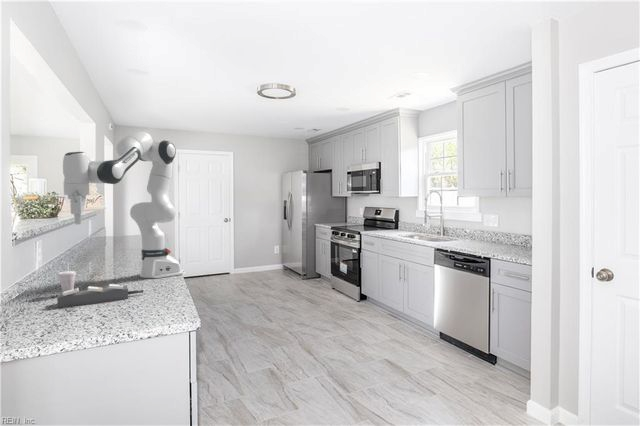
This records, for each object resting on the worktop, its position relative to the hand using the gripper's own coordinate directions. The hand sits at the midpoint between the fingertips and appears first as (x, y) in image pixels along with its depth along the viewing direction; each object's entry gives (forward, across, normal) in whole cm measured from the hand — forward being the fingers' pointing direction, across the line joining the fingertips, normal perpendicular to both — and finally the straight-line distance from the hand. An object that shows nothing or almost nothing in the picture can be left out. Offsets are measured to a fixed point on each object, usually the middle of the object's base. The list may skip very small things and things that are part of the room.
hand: (78, 224), depth 152 cm
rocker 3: (+27, -9, -12) cm, 31 cm away
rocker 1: (+27, -9, +2) cm, 29 cm away
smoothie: (+31, +9, +5) cm, 33 cm away
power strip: (+31, -8, -8) cm, 33 cm away
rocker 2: (+27, -9, -5) cm, 29 cm away
